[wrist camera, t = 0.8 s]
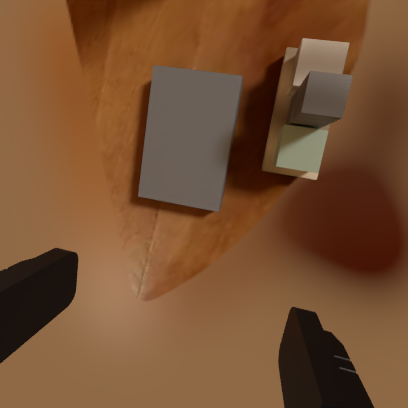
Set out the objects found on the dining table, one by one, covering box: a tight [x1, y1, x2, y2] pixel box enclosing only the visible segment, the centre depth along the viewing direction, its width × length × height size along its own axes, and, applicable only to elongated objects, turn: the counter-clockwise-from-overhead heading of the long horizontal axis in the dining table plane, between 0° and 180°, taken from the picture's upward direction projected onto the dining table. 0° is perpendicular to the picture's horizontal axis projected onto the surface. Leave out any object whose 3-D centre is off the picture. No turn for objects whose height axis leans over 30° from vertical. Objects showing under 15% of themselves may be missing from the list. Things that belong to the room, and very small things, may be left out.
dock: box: [138, 65, 243, 212], centre depth 32 cm, size 15×10×3 cm, turn 171°
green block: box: [272, 125, 328, 173], centre depth 27 cm, size 4×4×4 cm
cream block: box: [287, 38, 349, 96], centre depth 26 cm, size 4×4×4 cm
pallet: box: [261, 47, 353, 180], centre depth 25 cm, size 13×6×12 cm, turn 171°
